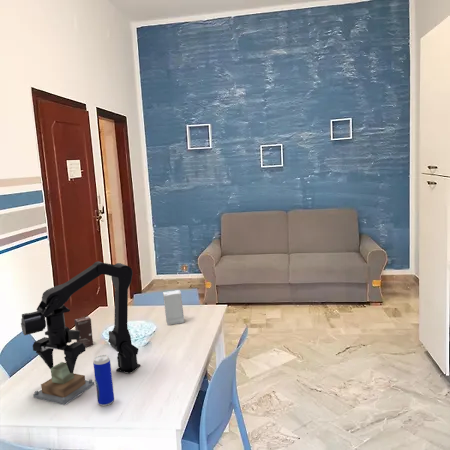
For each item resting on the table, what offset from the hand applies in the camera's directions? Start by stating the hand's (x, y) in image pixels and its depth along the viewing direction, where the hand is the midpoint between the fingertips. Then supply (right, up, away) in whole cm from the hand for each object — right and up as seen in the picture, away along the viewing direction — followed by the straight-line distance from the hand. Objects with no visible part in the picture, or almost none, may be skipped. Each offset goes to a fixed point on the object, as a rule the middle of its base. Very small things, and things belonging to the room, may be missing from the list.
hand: (61, 370), depth 156 cm
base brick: (+1, -7, +1) cm, 7 cm away
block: (0, -3, +1) cm, 3 cm away
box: (-4, -2, +40) cm, 40 cm away
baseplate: (+1, -7, +1) cm, 7 cm away
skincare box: (+32, +3, +61) cm, 69 cm away
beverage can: (+17, -8, -8) cm, 21 cm away
